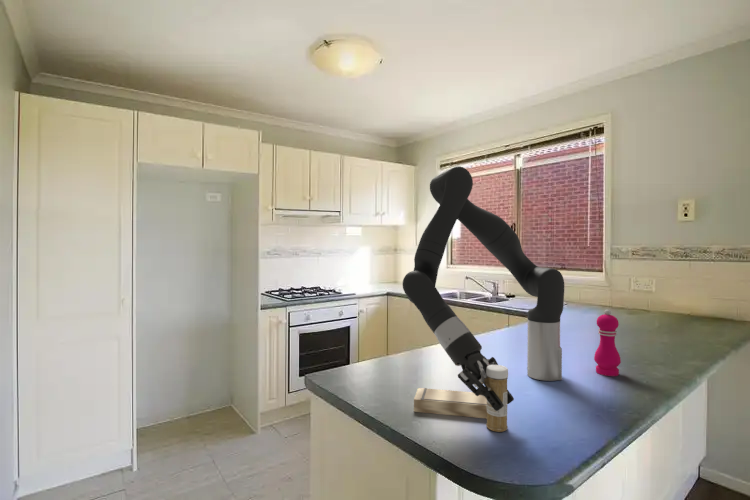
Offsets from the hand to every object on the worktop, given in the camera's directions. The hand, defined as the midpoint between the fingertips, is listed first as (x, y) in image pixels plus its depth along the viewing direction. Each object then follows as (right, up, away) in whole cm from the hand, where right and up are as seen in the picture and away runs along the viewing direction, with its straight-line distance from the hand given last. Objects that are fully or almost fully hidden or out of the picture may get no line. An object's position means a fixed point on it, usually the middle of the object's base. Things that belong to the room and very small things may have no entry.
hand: (505, 405), depth 87 cm
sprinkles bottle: (-1, -6, +1) cm, 6 cm away
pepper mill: (+45, -5, +39) cm, 60 cm away
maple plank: (-8, -5, +12) cm, 15 cm away
